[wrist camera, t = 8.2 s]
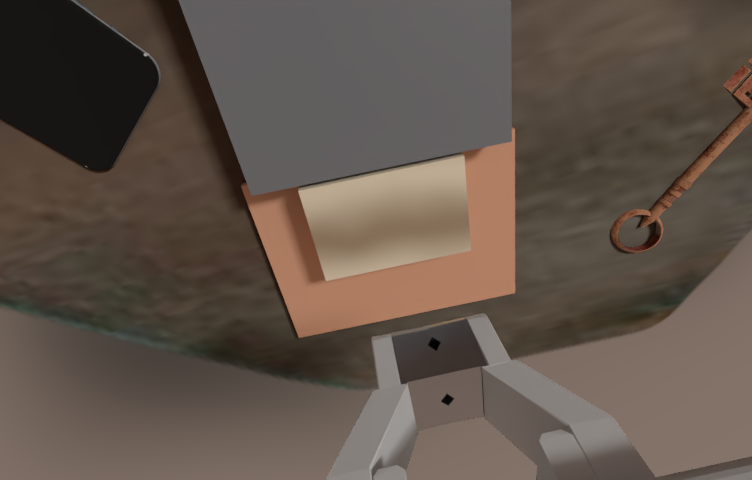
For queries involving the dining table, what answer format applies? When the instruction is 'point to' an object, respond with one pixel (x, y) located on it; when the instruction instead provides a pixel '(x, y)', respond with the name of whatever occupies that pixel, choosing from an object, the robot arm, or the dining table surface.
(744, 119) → the key
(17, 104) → the smartphone
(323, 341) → the dining table surface
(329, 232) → the tile
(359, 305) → the mat
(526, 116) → the dining table surface
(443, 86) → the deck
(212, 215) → the dining table surface
